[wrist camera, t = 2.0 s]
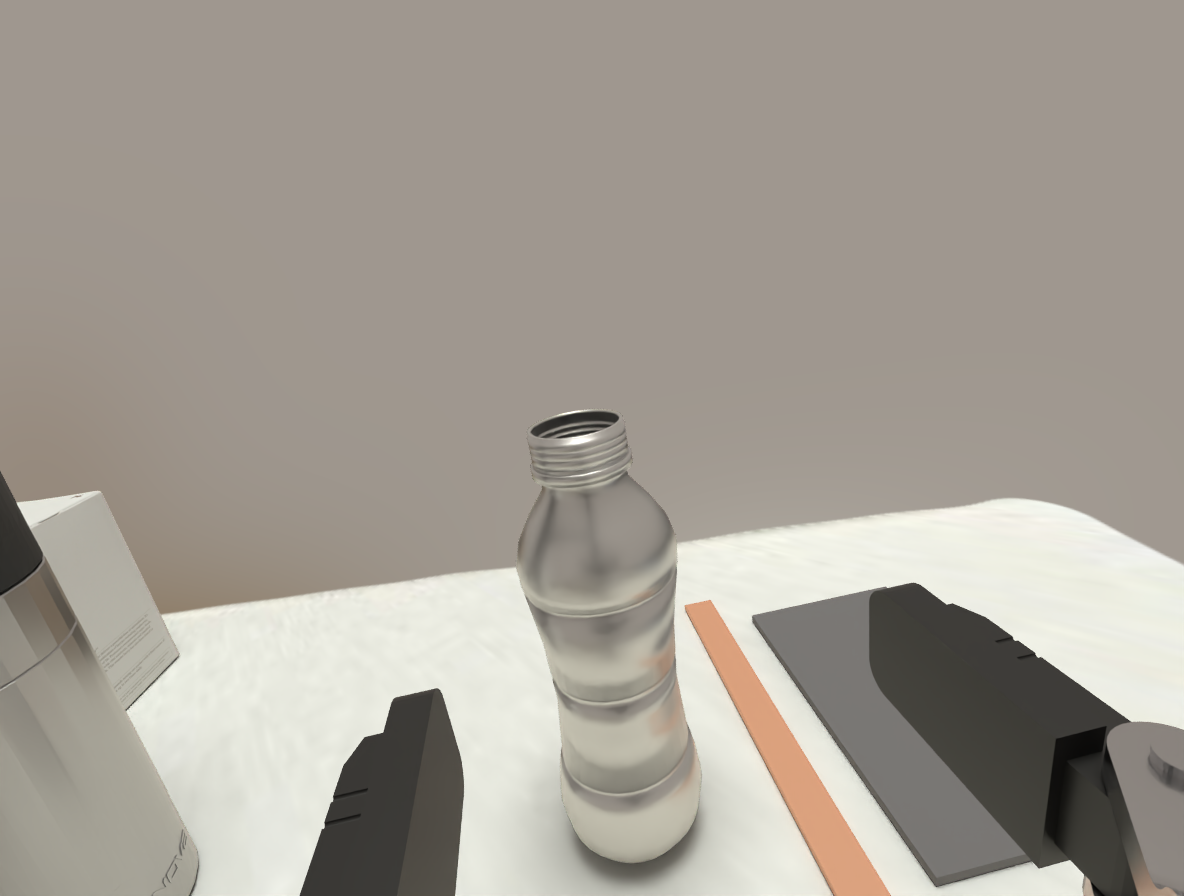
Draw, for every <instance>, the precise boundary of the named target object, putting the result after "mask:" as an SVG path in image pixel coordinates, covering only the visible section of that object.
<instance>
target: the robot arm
mask: <svg viewBox="0 0 1184 896" xmlns="http://www.w3.org/2000/svg"><path fill="white" fill-rule="evenodd" d="M869 662H870V667H871V671H872V674H873V677H874V679H875V681H876V683H877V685H878V687H879V689H880V690H881V692H882V693H883V694H884V696H885V697H886V698H887V699H888V700H889V701H890V702H891V703H892V705H893V706H894V707H895V708H896V709H897V710H898V711H899V712H900V714H901V715H902V716H903V717H904V718H905V719H906V720H907V721H908V723H909V724H910V725H911V726H912V727H913V728H914V729H915V730H916V731H917V733H918V734H919V735H920V736H921V737H922V738H923V739H924V740H925V742H926V743H927V744H928V745H929V746H930V747H931V748H932V749H933V751H934V752H935V753H936V754H937V755H938V756H939V757H940V758H941V759H942V761H943V762H944V763H945V764H946V765H947V766H948V767H949V768H950V770H951V771H952V772H953V773H954V774H955V775H956V776H957V777H958V779H959V780H960V781H961V782H962V783H963V784H964V785H965V786H966V788H967V789H968V790H969V791H970V792H971V793H972V794H973V795H974V796H975V798H976V799H977V800H978V801H979V802H980V803H981V804H982V805H983V807H984V808H985V809H986V810H987V811H988V812H989V813H990V814H991V816H992V817H993V818H994V819H995V820H996V821H997V822H998V823H999V824H1000V826H1001V827H1002V828H1003V829H1004V830H1005V831H1006V832H1007V833H1008V835H1009V836H1010V837H1011V838H1012V839H1013V840H1014V841H1015V842H1016V844H1017V845H1018V846H1019V847H1020V848H1021V849H1022V850H1023V851H1024V852H1025V854H1026V855H1027V856H1028V857H1029V858H1030V859H1031V860H1032V861H1033V863H1034V864H1035V865H1036V866H1037V867H1038V868H1042V867H1046V866H1050V865H1053V864H1057V863H1060V862H1064V861H1068V860H1071V861H1072V862H1073V863H1074V864H1075V865H1076V866H1077V868H1078V869H1079V870H1080V871H1081V872H1082V873H1083V874H1084V879H1083V886H1082V888H1083V896H1184V730H1182V729H1179V728H1176V727H1172V726H1168V725H1164V724H1158V723H1152V722H1131V721H1129V720H1128V719H1126V718H1125V717H1124V716H1122V715H1121V714H1119V713H1118V712H1117V711H1115V710H1114V709H1113V708H1111V707H1110V706H1108V705H1107V704H1106V703H1104V702H1103V701H1101V700H1100V699H1099V698H1097V697H1096V696H1094V695H1093V694H1092V693H1090V692H1089V691H1087V690H1086V689H1085V688H1083V687H1082V686H1081V685H1079V684H1078V683H1076V682H1075V681H1074V680H1072V679H1071V678H1069V677H1068V676H1067V675H1065V674H1064V673H1062V672H1061V671H1060V670H1058V669H1057V668H1055V667H1054V666H1053V665H1051V664H1050V663H1049V662H1047V661H1046V660H1044V659H1043V658H1042V657H1040V658H1038V657H1037V656H1036V655H1035V652H1033V651H1032V650H1030V649H1029V648H1028V647H1026V646H1025V645H1023V644H1022V643H1021V642H1019V641H1014V640H1013V637H1012V636H1011V635H1010V634H1008V633H1007V632H1005V631H1004V630H1003V629H1001V628H1000V627H998V626H997V625H996V624H994V623H993V622H991V621H990V620H989V619H987V618H986V617H984V616H981V615H979V614H976V613H974V612H972V611H969V610H967V609H965V608H962V607H960V606H957V605H955V604H948V605H946V604H945V603H944V602H942V601H941V600H940V599H938V598H937V597H936V596H934V595H933V594H932V593H930V592H929V591H928V590H926V589H925V588H924V587H922V586H921V585H919V584H917V583H909V584H904V585H900V586H895V587H891V588H887V589H882V590H878V591H874V592H873V593H872V594H871V596H870V599H869ZM463 797H464V779H463V768H462V762H461V757H460V753H459V749H458V746H457V743H456V739H455V736H454V732H453V729H452V726H451V722H450V719H449V715H448V712H447V709H446V705H445V702H444V698H443V695H442V693H441V691H440V690H439V689H438V688H436V689H432V690H427V691H423V692H418V693H414V694H410V695H405V696H401V697H396V698H394V699H393V701H392V703H391V707H390V710H389V714H388V717H387V721H386V725H385V728H384V732H383V733H381V734H376V735H372V736H368V737H364V739H363V740H362V741H361V743H360V744H359V745H358V747H357V748H356V750H355V751H354V752H353V754H352V755H351V756H350V758H349V759H348V760H347V762H346V763H345V764H344V766H343V768H342V771H341V774H340V777H339V780H338V783H337V786H336V789H335V792H334V795H333V799H334V800H333V802H331V804H330V807H329V810H328V813H327V816H326V819H325V822H324V823H325V828H324V829H322V831H321V834H320V837H319V840H318V843H317V846H316V849H315V852H314V855H313V858H312V860H311V863H310V866H309V869H308V872H307V875H306V878H305V881H304V884H303V887H302V890H301V893H300V896H455V890H456V878H457V867H458V855H459V844H460V832H461V821H462V809H463ZM197 868H198V855H197V849H196V847H195V845H194V843H193V841H192V839H191V837H190V835H189V833H188V831H187V829H186V827H185V825H184V823H183V821H182V820H181V818H180V816H179V814H178V812H177V810H176V808H175V806H174V804H173V802H172V800H171V798H170V796H169V794H168V792H167V790H166V787H165V785H164V783H163V782H162V780H161V778H160V776H159V774H158V772H157V770H156V768H155V766H154V764H153V762H152V760H151V758H150V757H149V755H148V753H147V751H146V749H145V747H144V745H143V743H142V741H141V739H140V737H139V735H138V733H137V731H136V730H135V728H134V726H133V724H132V722H131V720H130V718H129V716H128V714H127V712H126V710H125V708H124V706H123V705H122V703H121V701H120V699H119V697H118V695H117V693H116V691H115V689H114V687H113V685H112V683H111V681H110V680H109V678H108V676H107V674H106V672H105V670H104V668H103V666H102V664H101V662H100V660H99V658H98V656H97V655H96V653H95V651H94V649H93V647H92V645H91V643H90V641H89V639H88V637H87V635H86V633H85V631H84V629H83V628H82V626H81V624H80V622H79V620H78V618H77V616H76V615H75V613H74V611H73V609H72V607H71V605H70V603H69V601H68V599H67V597H66V596H65V594H64V592H63V590H62V588H61V586H60V584H59V582H58V580H57V578H56V576H55V574H54V572H53V571H52V569H51V567H50V565H49V563H48V561H47V559H46V557H45V556H44V555H43V552H42V550H41V548H40V546H39V544H38V542H37V541H36V539H35V537H34V535H33V533H32V532H31V530H30V528H29V526H28V524H27V522H26V520H25V518H24V516H23V514H22V513H21V511H20V509H19V507H18V505H17V503H16V501H15V499H14V497H13V495H12V493H11V491H10V489H9V487H8V485H7V483H6V481H5V479H4V477H3V476H2V474H1V472H0V896H189V895H190V892H191V890H192V887H193V885H194V883H195V879H196V874H197Z"/></svg>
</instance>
